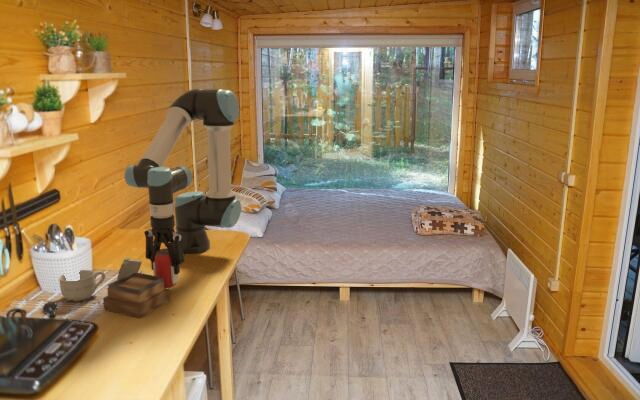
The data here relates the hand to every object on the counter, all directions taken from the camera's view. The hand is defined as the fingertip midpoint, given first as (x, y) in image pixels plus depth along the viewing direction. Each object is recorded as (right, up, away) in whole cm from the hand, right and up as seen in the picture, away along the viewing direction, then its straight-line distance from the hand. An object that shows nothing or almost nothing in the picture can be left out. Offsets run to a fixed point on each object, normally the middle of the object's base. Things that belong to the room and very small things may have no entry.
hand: (166, 280), depth 186 cm
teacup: (-25, -5, -5) cm, 26 cm away
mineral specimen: (-15, -1, +9) cm, 17 cm away
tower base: (-6, -6, -11) cm, 14 cm away
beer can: (0, -2, 0) cm, 2 cm away
